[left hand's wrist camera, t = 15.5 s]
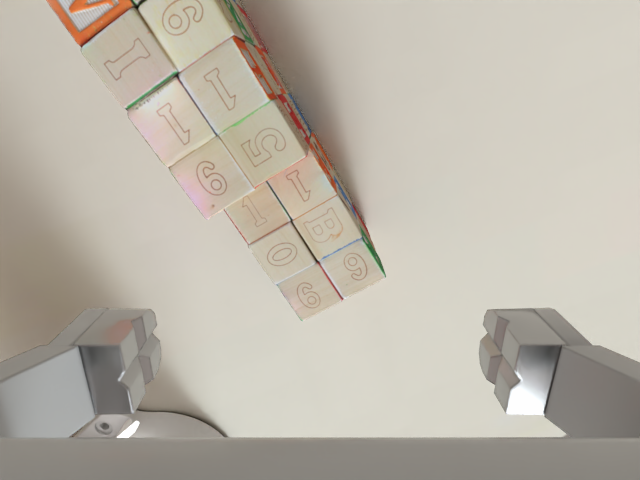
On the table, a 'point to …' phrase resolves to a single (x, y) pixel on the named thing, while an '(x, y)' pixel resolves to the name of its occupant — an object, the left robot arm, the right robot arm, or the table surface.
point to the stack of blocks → (231, 137)
